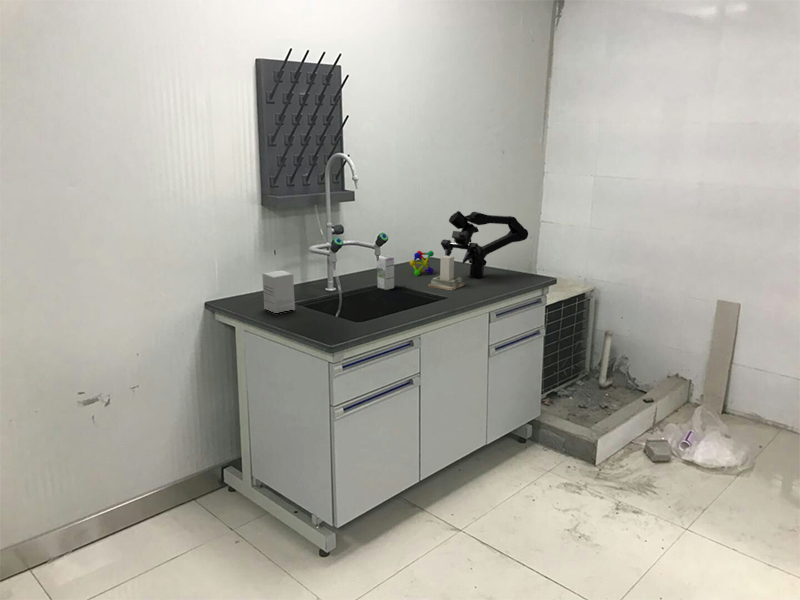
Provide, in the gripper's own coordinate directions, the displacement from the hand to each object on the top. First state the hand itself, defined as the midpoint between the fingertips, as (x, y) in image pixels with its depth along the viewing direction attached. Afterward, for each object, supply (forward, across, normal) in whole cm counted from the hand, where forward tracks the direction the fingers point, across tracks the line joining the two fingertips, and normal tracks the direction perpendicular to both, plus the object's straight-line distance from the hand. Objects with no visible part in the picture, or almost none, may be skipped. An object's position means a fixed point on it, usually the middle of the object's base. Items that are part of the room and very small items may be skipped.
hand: (454, 261), depth 291 cm
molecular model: (+2, -22, +13) cm, 26 cm away
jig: (+12, 0, +3) cm, 12 cm away
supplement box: (+63, -35, -48) cm, 87 cm away
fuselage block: (+11, 0, +2) cm, 11 cm away
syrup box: (+26, -21, -11) cm, 35 cm away
